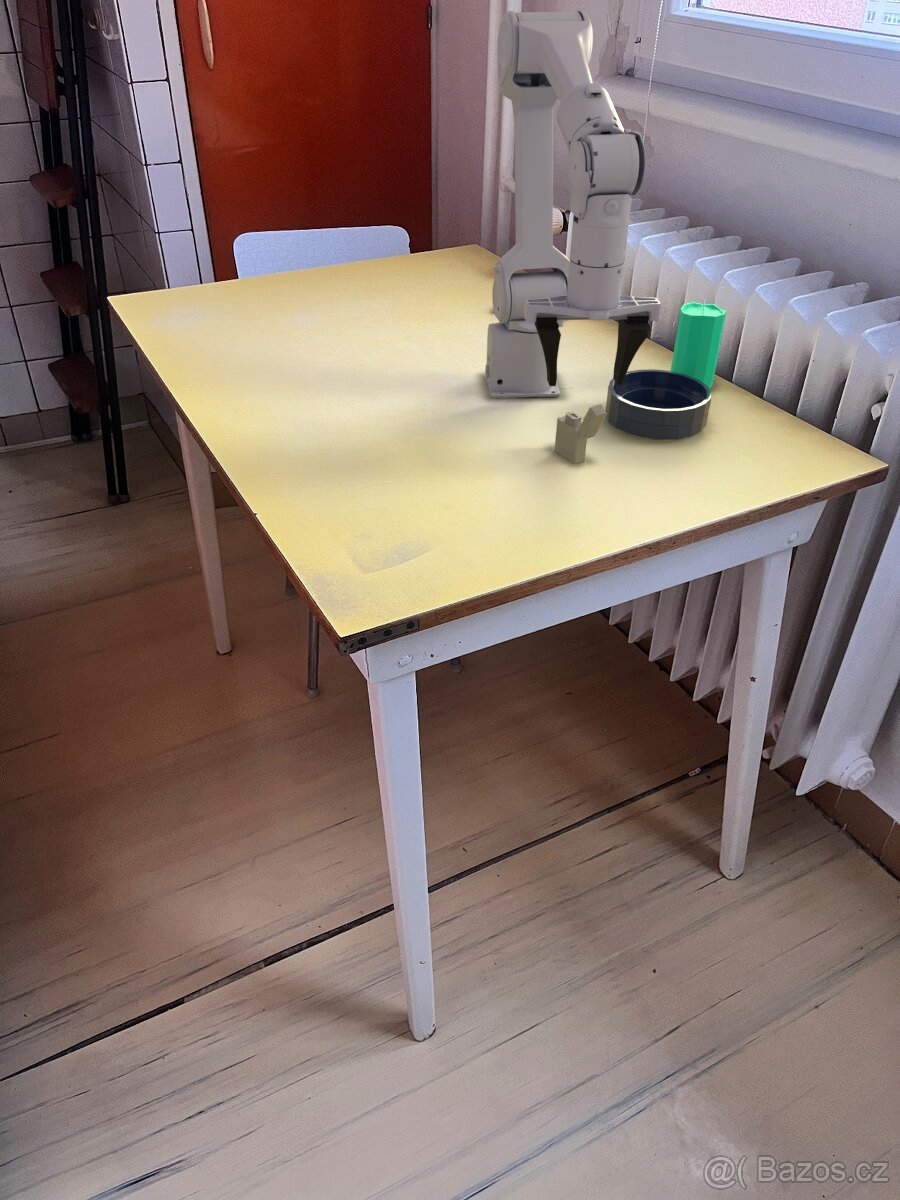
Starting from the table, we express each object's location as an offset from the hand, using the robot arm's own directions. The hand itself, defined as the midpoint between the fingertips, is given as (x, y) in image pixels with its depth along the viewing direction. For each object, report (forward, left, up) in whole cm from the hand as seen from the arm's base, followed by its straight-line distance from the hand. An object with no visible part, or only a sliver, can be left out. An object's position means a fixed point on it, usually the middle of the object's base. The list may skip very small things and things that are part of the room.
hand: (584, 382), depth 106 cm
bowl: (+12, +10, -10) cm, 19 cm away
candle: (+20, +22, -10) cm, 31 cm away
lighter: (0, 0, -10) cm, 10 cm away
